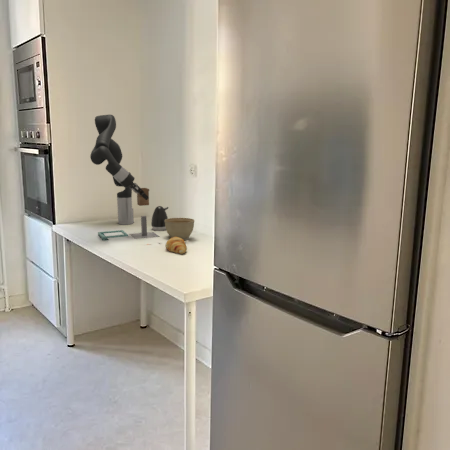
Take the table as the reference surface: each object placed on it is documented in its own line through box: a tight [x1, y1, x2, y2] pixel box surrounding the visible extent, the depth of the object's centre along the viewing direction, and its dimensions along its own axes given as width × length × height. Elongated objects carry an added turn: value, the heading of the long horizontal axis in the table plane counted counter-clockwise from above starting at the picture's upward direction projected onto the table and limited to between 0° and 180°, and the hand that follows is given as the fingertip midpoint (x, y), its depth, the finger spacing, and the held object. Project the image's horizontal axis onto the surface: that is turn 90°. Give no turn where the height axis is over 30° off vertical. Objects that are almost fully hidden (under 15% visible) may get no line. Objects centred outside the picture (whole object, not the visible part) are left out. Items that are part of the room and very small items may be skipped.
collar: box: [136, 187, 150, 207], centre depth 245 cm, size 5×6×9 cm
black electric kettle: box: [150, 205, 169, 232], centre depth 265 cm, size 10×10×15 cm
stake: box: [128, 215, 161, 240], centre depth 248 cm, size 14×14×12 cm
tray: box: [97, 229, 129, 241], centre depth 250 cm, size 14×14×2 cm
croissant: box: [165, 237, 188, 255], centre depth 220 cm, size 21×10×8 cm, turn 27°
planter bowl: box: [165, 217, 195, 242], centre depth 243 cm, size 16×16×11 cm
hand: (146, 198), depth 246 cm, fingers closed on collar, 5 cm apart
